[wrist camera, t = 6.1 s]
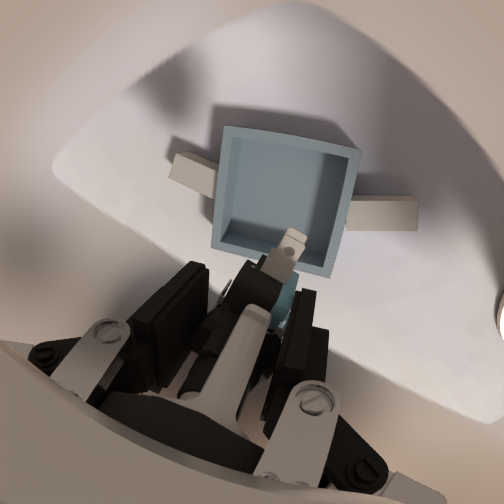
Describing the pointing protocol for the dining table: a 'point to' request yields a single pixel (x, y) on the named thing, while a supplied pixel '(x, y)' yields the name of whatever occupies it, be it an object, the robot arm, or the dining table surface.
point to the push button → (223, 365)
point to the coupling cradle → (288, 195)
